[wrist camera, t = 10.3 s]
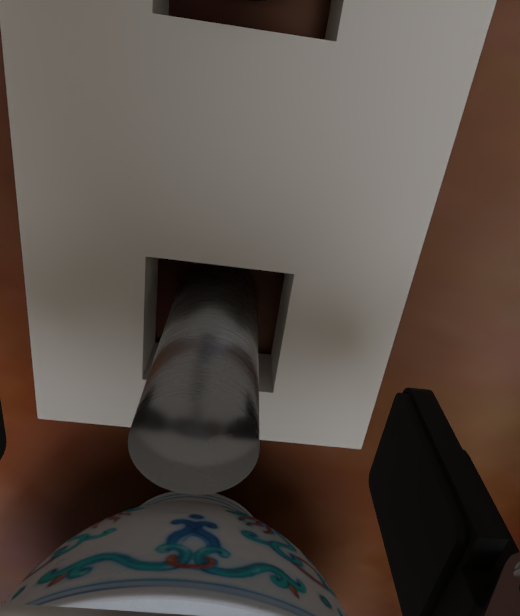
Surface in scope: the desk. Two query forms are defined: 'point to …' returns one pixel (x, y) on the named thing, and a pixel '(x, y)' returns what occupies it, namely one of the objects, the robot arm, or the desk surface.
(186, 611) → the chinaware
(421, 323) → the desk surface
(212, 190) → the pin board
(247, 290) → the steel pin
